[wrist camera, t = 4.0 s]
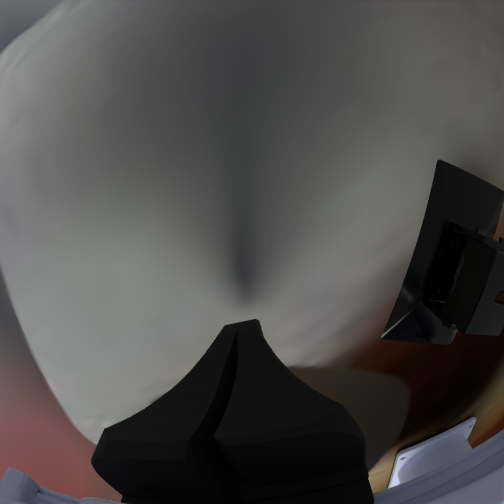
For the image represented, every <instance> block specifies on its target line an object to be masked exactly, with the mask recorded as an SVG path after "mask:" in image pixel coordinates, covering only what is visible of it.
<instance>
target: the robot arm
mask: <svg viewBox="0 0 504 504" xmlns="http://www.w3.org/2000/svg"><path fill="white" fill-rule="evenodd" d="M475 422H476V418H475V417H471V418H470V419H468V420H466V421H464V422H462V423H461V424H459V425H457V426H455V427H453V428H451V429H449V430H447V431H445V432H443V433H441V434H439V435H437V436H435V437H432V438H430V439H428V440H426V441H423V442H421V443H419V444H416V445H414V446H412V447H409V448H407V449H404V450H402V451H400V452H399V453H398V454H397V456H396V460H395V464H394V468H393V472H392V475H391V479H390V482H389V485H388V489H386V490H383V491H380V492H377V493H374V494H373V493H372V490H371V486H370V483H369V480H368V477H369V475H368V470H367V467H366V465H365V459H366V440H365V437H364V435H363V433H362V431H361V429H360V427H359V426H358V424H357V423H356V421H355V420H354V419H353V417H352V416H351V414H350V413H349V412H348V411H347V410H346V408H345V407H344V406H343V405H342V404H340V403H338V402H336V401H334V400H331V399H330V398H328V397H326V396H324V395H322V394H321V393H319V392H317V391H316V390H314V389H312V388H311V387H310V386H308V385H307V384H306V383H304V382H303V381H301V380H300V379H299V378H298V377H296V376H295V375H294V374H293V373H292V372H291V371H290V370H289V369H288V368H287V367H286V366H285V365H284V364H283V363H282V362H281V361H280V360H279V358H278V357H277V356H276V355H275V353H274V352H273V351H272V349H271V348H270V346H269V345H268V343H267V341H266V340H265V338H264V336H263V332H262V329H261V325H260V322H259V320H257V319H253V320H248V321H243V322H239V323H234V324H229V325H225V326H224V327H223V329H222V330H221V332H220V333H219V334H218V336H217V337H216V339H215V340H214V342H213V343H212V345H211V346H210V347H209V349H208V350H207V351H206V353H205V354H204V355H203V356H202V358H201V359H200V360H199V361H198V362H197V364H196V365H195V366H194V367H193V368H192V370H191V371H190V372H189V373H188V374H187V375H186V376H185V377H184V378H183V379H182V380H181V381H180V382H179V383H178V384H177V385H175V386H174V387H173V388H172V389H171V390H170V391H168V392H167V393H166V394H164V395H163V396H162V397H161V398H159V399H158V400H157V401H155V402H154V403H152V404H151V405H149V406H148V407H146V408H145V409H143V410H141V411H140V412H138V413H136V414H135V415H133V416H131V417H129V418H127V419H125V420H123V421H121V422H119V423H117V424H114V425H112V426H110V427H108V428H105V429H104V431H103V433H102V435H101V437H100V440H99V442H98V444H97V447H96V449H95V452H94V454H93V456H92V458H91V464H92V465H93V467H94V469H95V471H96V472H97V473H98V474H99V475H100V477H102V478H103V479H104V480H105V481H106V482H107V483H108V484H109V485H111V486H112V487H113V488H114V489H115V490H116V491H118V492H119V493H120V494H121V495H123V496H122V500H121V503H120V502H115V501H110V500H105V499H101V498H92V497H85V498H82V499H81V500H79V499H76V498H73V497H69V496H66V495H63V494H60V493H57V492H54V491H51V490H49V489H46V488H43V487H41V486H39V485H38V484H37V483H36V482H35V481H34V480H33V479H32V478H30V477H29V476H27V475H26V474H24V473H22V472H20V471H18V470H16V469H13V468H11V467H9V468H8V470H7V472H6V473H5V475H4V477H3V479H2V481H1V483H0V504H504V430H502V431H501V432H499V433H498V434H496V435H495V436H493V437H492V438H490V439H489V440H487V441H486V442H484V443H482V444H481V445H479V446H477V447H476V448H474V449H472V448H471V446H470V444H469V443H468V441H467V439H468V437H469V435H470V433H471V431H472V428H473V426H474V424H475Z"/></svg>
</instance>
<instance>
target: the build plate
mask: <svg viewBox="0 0 504 504" xmlns="http://www.w3.org/2000/svg"><path fill="white" fill-rule="evenodd" d="M503 200H504V191H502V190H501V189H499V188H497V187H495V186H493V185H491V184H490V183H488V182H486V181H484V180H482V179H480V178H478V177H476V176H474V175H472V174H470V173H468V172H466V171H464V170H462V169H460V168H458V167H456V166H453V165H451V164H449V163H447V162H445V161H442V160H438V161H437V164H436V169H435V174H434V179H433V183H432V188H431V192H430V196H429V200H428V204H427V208H426V212H425V216H424V220H423V223H422V227H421V230H420V234H419V237H418V240H417V244H416V247H415V250H414V253H413V256H412V259H411V262H410V265H409V268H408V271H407V274H406V277H405V279H404V282H403V285H402V288H401V290H400V293H399V295H398V298H397V301H396V303H395V306H394V308H393V311H392V313H391V315H390V318H389V320H388V323H387V325H386V327H385V329H384V332H383V334H382V339H387V340H397V341H408V342H420V343H432V344H447V345H449V344H450V343H451V342H452V340H453V338H454V336H455V334H456V332H457V330H459V331H460V332H461V333H462V334H465V335H483V336H499V335H500V333H501V331H502V329H503V326H504V302H501V301H496V300H495V298H496V296H497V294H498V293H499V292H504V239H503V238H501V237H500V238H499V241H497V240H495V239H494V235H495V232H496V228H497V224H498V221H499V217H500V213H501V209H502V204H503Z"/></svg>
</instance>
